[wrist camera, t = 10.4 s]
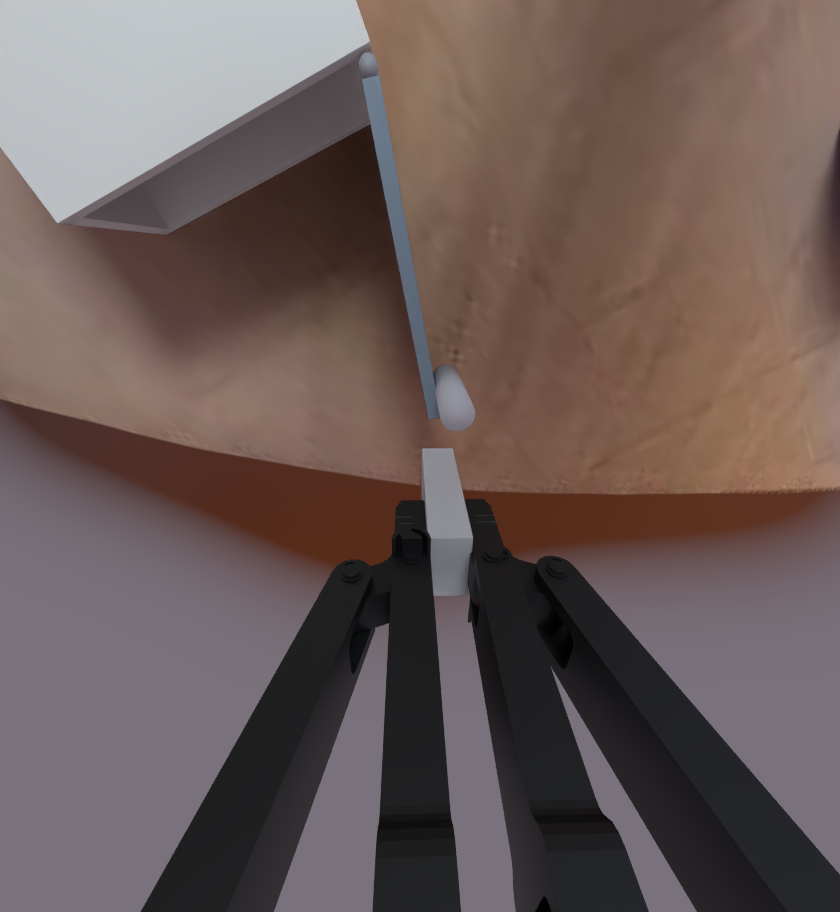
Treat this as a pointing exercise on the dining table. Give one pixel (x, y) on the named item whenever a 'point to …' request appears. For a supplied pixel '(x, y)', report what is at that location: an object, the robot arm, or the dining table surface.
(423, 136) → the dining table surface
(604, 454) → the dining table surface
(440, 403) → the side door
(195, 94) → the case
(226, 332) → the dining table surface
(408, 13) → the dining table surface
